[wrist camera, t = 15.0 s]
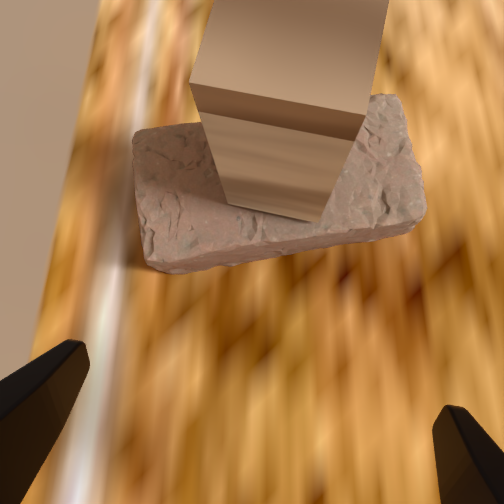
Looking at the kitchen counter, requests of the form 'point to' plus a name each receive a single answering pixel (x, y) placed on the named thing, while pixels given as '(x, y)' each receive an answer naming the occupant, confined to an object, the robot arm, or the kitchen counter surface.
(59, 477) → the kitchen counter surface
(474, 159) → the kitchen counter surface
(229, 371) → the kitchen counter surface
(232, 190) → the pillar block
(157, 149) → the brick
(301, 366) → the kitchen counter surface
